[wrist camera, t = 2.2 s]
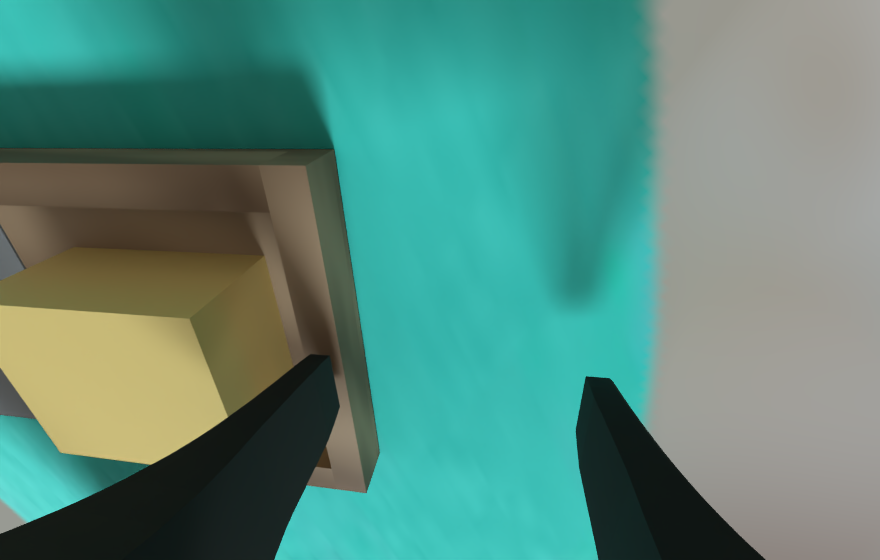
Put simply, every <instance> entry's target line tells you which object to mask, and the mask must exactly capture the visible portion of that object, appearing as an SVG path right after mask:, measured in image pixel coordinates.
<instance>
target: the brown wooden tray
mask: <svg viewBox="0 0 880 560" xmlns="http://www.w3.org/2000/svg"><path fill="white" fill-rule="evenodd" d="M0 224H1V226H2V228H3V230H4V231H5V233H6V235H7V236H8V238H9V240H10V242H11V243H12V245H13V247H14V248H15V250H16V252H17V254H18V255H19V257H20V259H21V260H22V262H23V264H24V266H25V267H26V269H27V268H29V267H31V266H33V265H36V264H38V263H40V262H42V261H44V260H47V259H49V258H51V257H53V256H55V255H58V254H60V253H62V252H64V251H66V250H68V249H71V248H73V247H82V248H104V249H127V250H149V251H172V252H194V253H217V254H239V255H262V256H265V259H266V263H267V267H268V271H269V275H270V279H271V282H272V286H273V290H274V294H275V298H276V301H277V305H278V309H279V313H280V317H281V321H282V324H283V328H284V332H285V336H286V340H287V344H288V347H289V351H290V355H291V359H292V363H293V366H295V365H296V364H298V363H299V362H300V361H302V360H303V359H304V358H306V357H307V356H308V355H310V354H317V355H329V356H330V359H331V364H332V369H333V374H334V379H335V384H336V389H337V394H338V399H339V404H340V408H339V411H338V414H337V417H336V421H335V424H334V426H333V429H332V432H331V435H330V438H329V440H328V442H327V444H326V446H325V449H324V451H323V453H322V455H321V457H320V459H319V461H318V463H317V465H316V467H315V469H314V471H313V473H312V475H311V477H310V479H309V481H308V483H307V485H309V486H316V487H324V488H332V489H339V490H347V491H355V492H362V493H367V490H368V487H369V484H370V481H371V478H372V475H373V472H374V469H375V466H376V463H377V460H378V457H379V454H380V452H379V446H378V439H377V432H376V426H375V419H374V412H373V406H372V399H371V392H370V386H369V379H368V372H367V366H366V359H365V352H364V346H363V339H362V332H361V326H360V319H359V312H358V306H357V299H356V292H355V286H354V279H353V272H352V266H351V259H350V252H349V246H348V239H347V232H346V226H345V219H344V212H343V206H342V199H341V192H340V186H339V179H338V172H337V166H336V159H335V152H334V149H97V148H0ZM96 458H97V457H96ZM103 459H105V458H103ZM111 460H112V459H111ZM119 461H120V460H119ZM126 462H128V461H126ZM134 463H135V462H134ZM141 464H143V463H141ZM149 465H150V464H149Z"/></svg>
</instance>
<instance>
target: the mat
mask: <svg viewBox="0 0 880 560" xmlns="http://www.w3.org/2000/svg"><path fill="white" fill-rule="evenodd" d="M25 269H26V267H25V266H24V264H23V262H22V260H21V259H20V257H19V255H18V254H17V252H16V250H15V248H14V247H13V245H12V243H11V242H10V240H9V238H8V236H7V235H6V233H5V231H4V230H3V228H2V226H1V224H0V281H1V280H3V279H5V278H7V277H9V276H12V275H14V274H16V273H18V272H20V271H23V270H25ZM0 415H7V416H15V417H24V418H32V419H36V417H35V416H34V415H33V413H32V412H31V410H30V409H29V407H28V406H27V405H26V403H25V402H24V400H23V399H22V398H21V396H20V395H19V393H18V392H17V391H16V389H15V388H14V386H13V385H12V384H11V382H10V381H9V379H8V378H7V376H6V375H5V374H4V372H3V371H2V369H1V368H0Z"/></svg>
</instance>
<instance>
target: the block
mask: <svg viewBox="0 0 880 560" xmlns="http://www.w3.org/2000/svg"><path fill="white" fill-rule="evenodd" d="M293 367H294V366H293V363H292V359H291V355H290V351H289V347H288V344H287V340H286V336H285V332H284V328H283V324H282V321H281V317H280V313H279V309H278V305H277V301H276V298H275V294H274V290H273V286H272V282H271V279H270V275H269V271H268V267H267V263H266V259H265V256H262V255H239V254H217V253H194V252H172V251H149V250H127V249H104V248H82V247H73V248H71V249H68V250H66V251H64V252H62V253H60V254H58V255H55V256H53V257H51V258H49V259H47V260H44V261H42V262H40V263H38V264H36V265H33V266H31V267H29V268H27V269H25V270H23V271H20V272H18V273H16V274H14V275H12V276H9V277H7V278H5V279H3V280H1V281H0V368H1V369H2V371H3V372H4V374H5V375H6V376H7V378H8V379H9V381H10V382H11V384H12V385H13V386H14V388H15V389H16V391H17V392H18V393H19V395H20V396H21V398H22V399H23V400H24V402H25V403H26V405H27V406H28V407H29V409H30V410H31V412H32V413H33V415H34V416H35V417H36V419H37V420H38V422H39V423H40V424H41V426H42V427H43V429H44V430H45V431H46V433H47V434H48V436H49V437H50V438H51V440H52V441H53V443H54V444H55V446H56V447H57V448H58V450H59V451H60V453H67V454H74V455H82V456H89V457H97V458H105V459H112V460H120V461H128V462H135V463H143V464H150V465H152V464H153V463H155V462H157V461H159V460H161V459H163V458H164V457H166V456H168V455H170V454H171V453H173V452H175V451H177V450H178V449H180V448H181V447H183V446H185V445H186V444H188V443H190V442H191V441H193V440H195V439H196V438H198V437H199V436H201V435H202V434H204V433H205V432H207V431H209V430H210V429H211V428H213V427H214V426H216V425H217V424H219V423H220V422H222V421H223V420H224V419H226V418H227V417H229V416H230V415H231V414H233V413H234V412H236V411H237V410H238V409H240V408H241V407H242V406H244V405H245V404H247V403H248V402H249V401H251V400H252V399H253V398H255V397H256V396H257V395H259V394H260V393H261V392H262V391H264V390H265V389H266V388H267V387H269V386H270V385H271V384H273V383H274V382H275V381H276V380H278V379H279V378H280V377H281V376H283V375H284V374H285V373H286V372H288V371H289V370H290V369H291V368H293Z"/></svg>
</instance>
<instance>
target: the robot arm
mask: <svg viewBox="0 0 880 560" xmlns="http://www.w3.org/2000/svg"><path fill="white" fill-rule="evenodd" d="M339 408H340V404H339V399H338V394H337V389H336V384H335V379H334V374H333V369H332V364H331V359H330V356H329V355H317V354H310V355H308V356H307V357H306V358H304V359H303V360H302V361H300V362H299V363H298V364H296V365H295V366H294V367H293V368H291V369H290V370H289V371H288V372H286V373H285V374H284V375H283V376H281V377H280V378H279V379H278V380H276V381H275V382H274V383H273V384H271V385H270V386H269V387H267V388H266V389H265V390H264V391H262V392H261V393H260V394H259V395H257V396H256V397H255V398H253V399H252V400H251V401H249V402H248V403H247V404H245V405H244V406H242V407H241V408H240V409H238V410H237V411H236V412H234V413H233V414H231V415H230V416H229V417H227V418H226V419H224V420H223V421H222V422H220V423H219V424H217V425H216V426H214V427H213V428H211V429H210V430H209V431H207V432H205V433H204V434H202V435H201V436H199V437H198V438H196V439H195V440H193V441H191V442H190V443H188V444H186V445H185V446H183V447H181V448H180V449H178V450H177V451H175V452H173V453H171V454H170V455H168V456H166V457H164V458H163V459H161V460H159V461H157V462H155V463H153V464H152V465H150V466H148V467H146V468H144V469H142V470H141V471H139V472H137V473H135V474H133V475H131V476H130V477H128V478H126V479H124V480H122V481H120V482H118V483H116V484H114V485H112V486H110V487H108V488H106V489H104V490H101V491H99V492H97V493H95V494H93V495H91V496H89V497H87V498H84V499H82V500H80V501H78V502H76V503H73V504H71V505H69V506H67V507H64V508H62V509H60V510H58V511H55V512H53V513H50V514H48V515H45V516H43V517H41V518H38V519H36V520H33V521H31V522H29V523H26V524H24V525H21V526H19V527H17V528H14V529H12V530H9V531H7V532H4V533H1V534H0V560H274V559H275V556H276V553H277V551H278V548H279V546H280V543H281V540H282V538H283V535H284V532H285V530H286V528H287V525H288V523H289V521H290V519H291V516H292V514H293V512H294V510H295V508H296V506H297V504H298V502H299V500H300V498H301V496H302V494H303V492H304V490H305V488H306V485H307V483H308V481H309V479H310V477H311V475H312V473H313V471H314V469H315V467H316V465H317V463H318V461H319V459H320V457H321V455H322V453H323V451H324V449H325V446H326V444H327V442H328V440H329V438H330V435H331V432H332V429H333V426H334V424H335V421H336V417H337V414H338V411H339ZM576 439H577V450H578V460H579V469H580V474H581V479H582V483H583V488H584V493H585V498H586V503H587V507H588V512H589V517H590V521H591V526H592V531H593V536H594V540H595V545H596V550H597V554H598V560H765V559H764V558H763V557H762V556H761V555H760V554H759V553H758V552H757V551H756V550H754V549H753V548H752V547H751V546H750V545H749V544H748V543H747V542H746V541H745V540H744V539H743V538H742V537H741V536H739V535H738V533H736V531H734V529H733V528H732V527H731V526H729V524H727V523H726V521H725V520H724V519H723V518H722V517H721V516H720V515H719V514H718V513H717V512H716V511H715V510H714V509H713V508H712V507H711V506H710V505H709V504H708V503H707V502H706V501H705V500H704V498H703V497H702V496H701V495H700V494H699V493H698V492H697V491H696V490H695V488H694V487H693V486H692V485H691V484H690V483H689V482H688V480H687V479H686V478H685V477H684V476H683V475H682V473H681V472H680V471H679V470H678V469H677V468H676V467H675V465H674V464H673V463H672V462H671V460H670V459H669V458H668V457H667V455H666V454H665V453H664V452H663V450H662V449H661V448H660V447H659V445H658V444H657V443H656V441H655V440H654V439H653V437H652V436H651V435H650V434H649V432H648V431H647V430H646V428H645V427H644V426H643V424H642V423H641V422H640V420H639V419H638V417H637V416H636V415H635V413H634V412H633V410H632V409H631V408H630V406H629V405H628V403H627V402H626V400H625V399H624V397H623V396H622V394H621V393H620V391H619V390H618V388H617V387H616V385H615V384H614V382H613V381H612V380H611V379H610V378H599V377H587V376H586V378H585V384H584V389H583V394H582V400H581V405H580V410H579V416H578V421H577V426H576Z"/></svg>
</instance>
